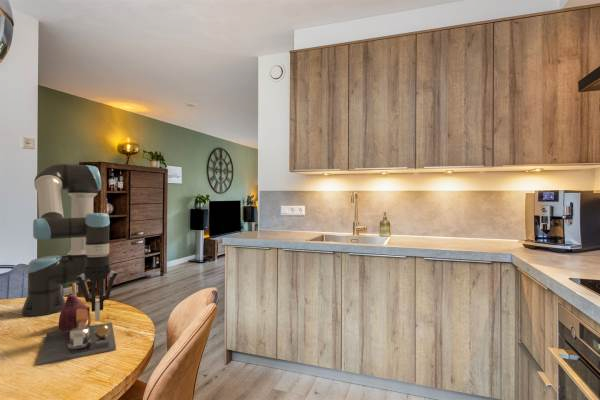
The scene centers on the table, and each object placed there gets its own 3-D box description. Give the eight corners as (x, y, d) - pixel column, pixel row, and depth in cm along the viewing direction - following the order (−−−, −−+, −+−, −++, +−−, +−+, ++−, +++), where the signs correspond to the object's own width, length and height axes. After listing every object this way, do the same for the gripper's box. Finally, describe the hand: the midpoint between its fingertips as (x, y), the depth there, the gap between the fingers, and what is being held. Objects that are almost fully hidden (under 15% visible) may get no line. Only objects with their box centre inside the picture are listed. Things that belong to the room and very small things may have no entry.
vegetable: (75, 339, 125) (71, 304, 121) (52, 333, 127) (47, 298, 123) (97, 323, 135) (94, 289, 131) (76, 317, 137) (72, 284, 133)
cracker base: (47, 336, 120) (47, 315, 120) (111, 325, 131) (111, 306, 131) (38, 365, 99) (38, 339, 99) (115, 349, 109) (116, 326, 109)
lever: (88, 346, 106) (88, 324, 106) (67, 349, 103) (68, 326, 103) (91, 324, 125) (91, 305, 125) (74, 326, 122) (75, 307, 122)
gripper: (76, 258, 117) (75, 326, 117) (118, 255, 124) (118, 319, 124) (76, 255, 124) (76, 319, 124) (116, 252, 131) (116, 313, 131)
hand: (97, 319), depth 124 cm, fingers closed
